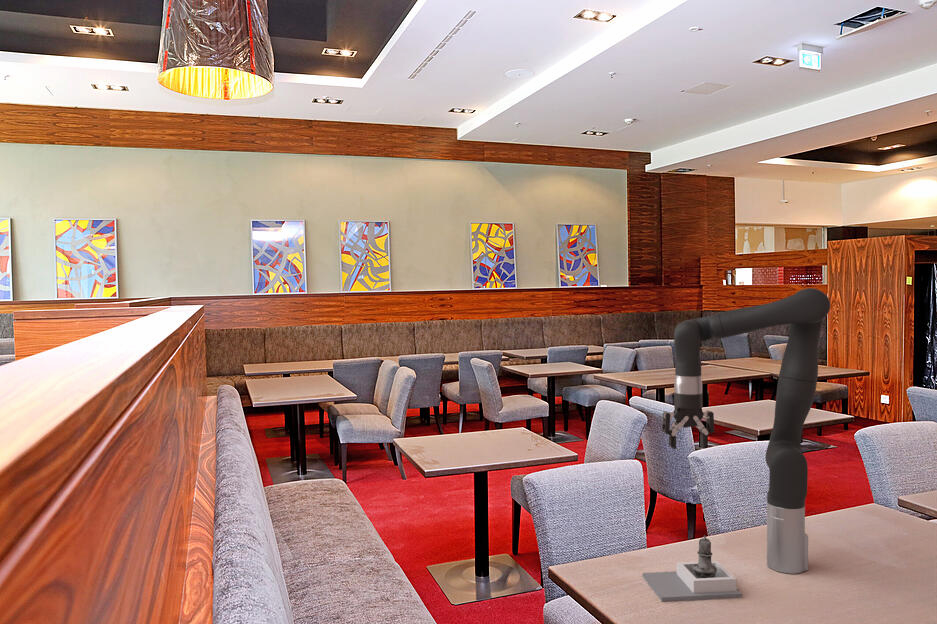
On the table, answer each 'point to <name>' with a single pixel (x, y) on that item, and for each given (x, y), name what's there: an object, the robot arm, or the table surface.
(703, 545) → the salt shaker
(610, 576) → the table surface
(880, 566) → the table surface
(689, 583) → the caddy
